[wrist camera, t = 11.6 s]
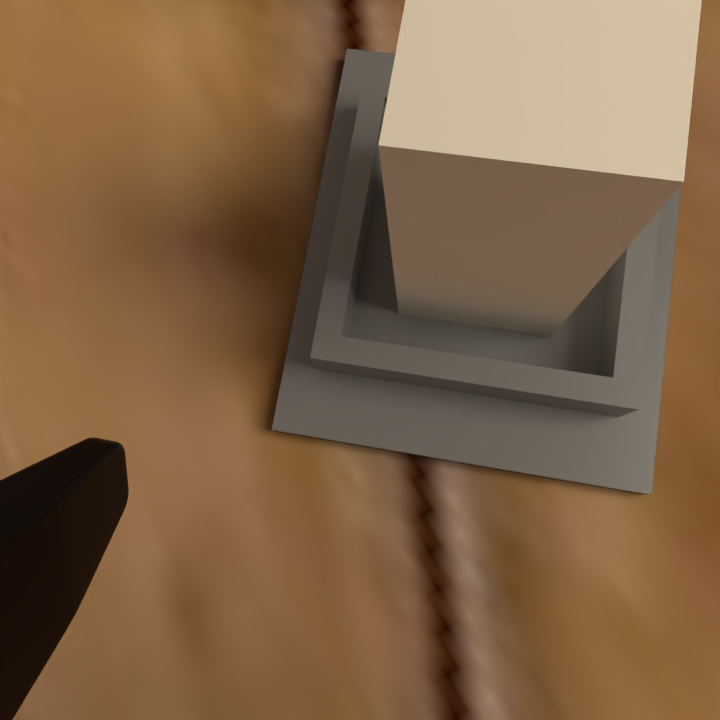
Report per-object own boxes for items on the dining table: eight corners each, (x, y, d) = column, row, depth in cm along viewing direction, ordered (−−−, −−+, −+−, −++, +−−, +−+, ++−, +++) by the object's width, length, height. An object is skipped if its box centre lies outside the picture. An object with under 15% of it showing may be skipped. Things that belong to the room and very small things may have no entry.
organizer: (644, 494, 21) (676, 495, 18) (275, 431, 22) (256, 423, 20) (683, 93, 23) (716, 44, 21) (348, 59, 25) (340, 9, 22)
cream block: (551, 336, 21) (684, 181, 11) (398, 313, 22) (378, 145, 11) (570, 193, 22) (709, -83, 12) (422, 175, 23) (424, -104, 12)
